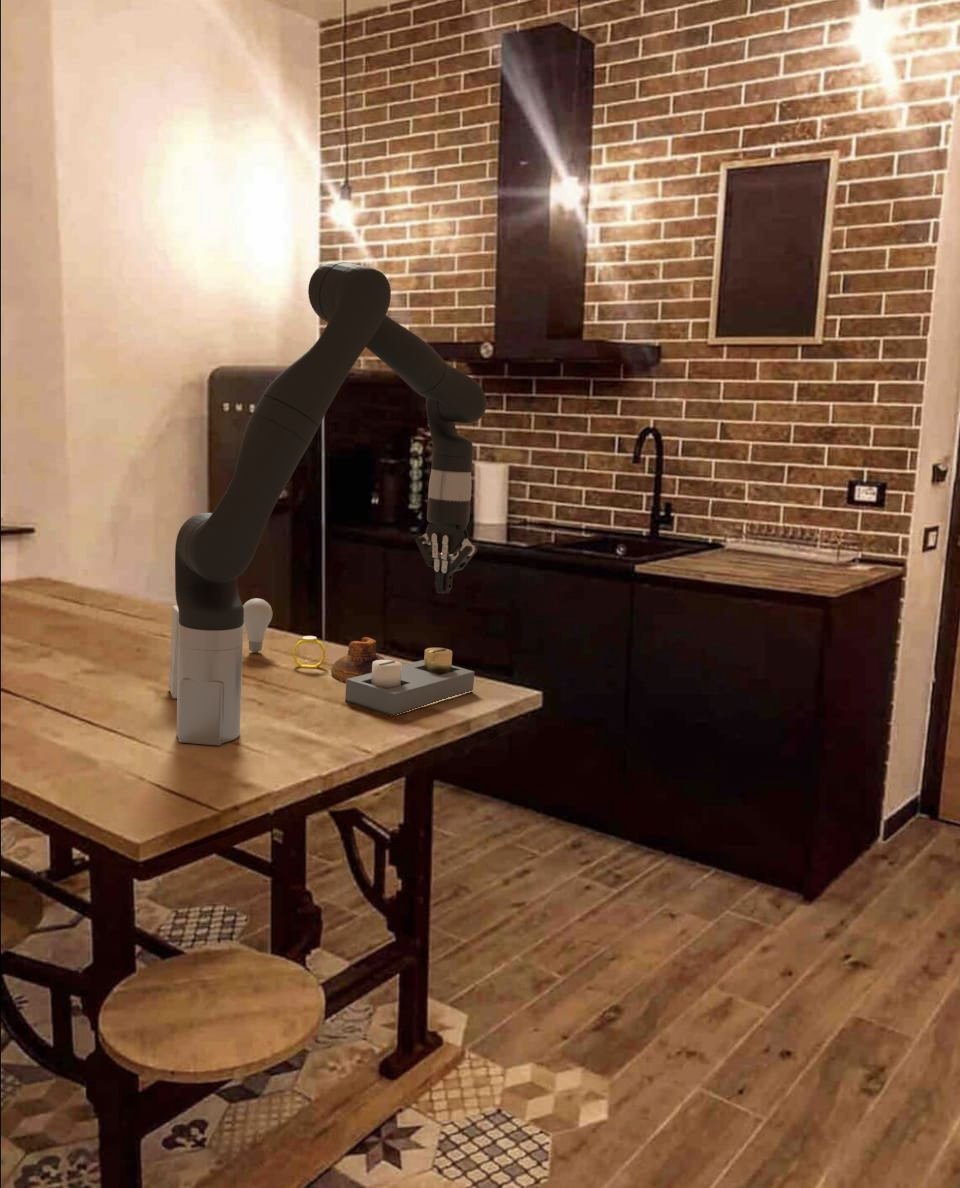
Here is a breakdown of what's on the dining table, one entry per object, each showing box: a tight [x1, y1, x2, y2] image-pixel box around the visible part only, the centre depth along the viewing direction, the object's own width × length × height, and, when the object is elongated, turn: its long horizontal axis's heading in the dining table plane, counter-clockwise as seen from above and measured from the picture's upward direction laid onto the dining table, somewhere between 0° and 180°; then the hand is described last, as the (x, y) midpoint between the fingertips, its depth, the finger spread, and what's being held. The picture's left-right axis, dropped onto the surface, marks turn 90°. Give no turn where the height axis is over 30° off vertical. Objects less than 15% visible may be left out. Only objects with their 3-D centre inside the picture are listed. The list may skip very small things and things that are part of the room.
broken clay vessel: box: [330, 636, 387, 683], centre depth 189 cm, size 12×12×7 cm
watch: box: [292, 635, 326, 669], centre depth 192 cm, size 6×3×6 cm, turn 96°
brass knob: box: [423, 647, 453, 675], centre depth 184 cm, size 5×5×4 cm
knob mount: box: [344, 659, 475, 717], centre depth 179 cm, size 22×11×4 cm, turn 143°
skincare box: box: [168, 605, 179, 699], centre depth 170 cm, size 8×6×15 cm
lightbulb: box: [242, 597, 274, 654], centre depth 199 cm, size 6×6×11 cm
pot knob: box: [371, 659, 403, 689], centre depth 172 cm, size 5×5×4 cm
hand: (442, 592), depth 181 cm, fingers closed
